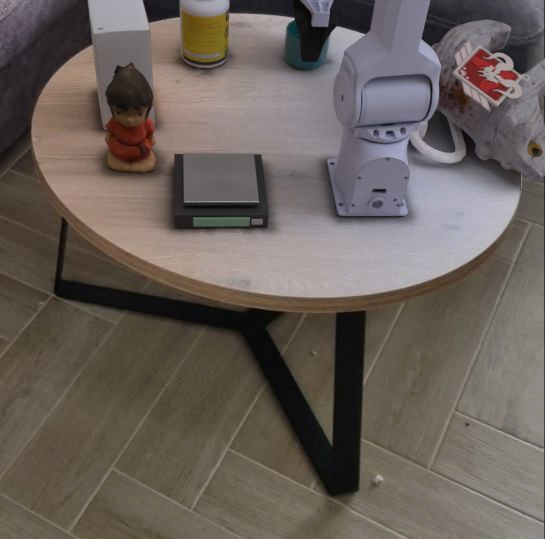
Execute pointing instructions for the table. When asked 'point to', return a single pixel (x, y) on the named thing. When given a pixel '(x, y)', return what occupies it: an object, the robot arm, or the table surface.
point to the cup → (293, 49)
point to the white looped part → (435, 154)
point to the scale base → (219, 214)
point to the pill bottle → (204, 32)
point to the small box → (119, 44)
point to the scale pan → (219, 179)
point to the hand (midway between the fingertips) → (306, 47)
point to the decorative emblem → (486, 75)
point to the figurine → (130, 122)
